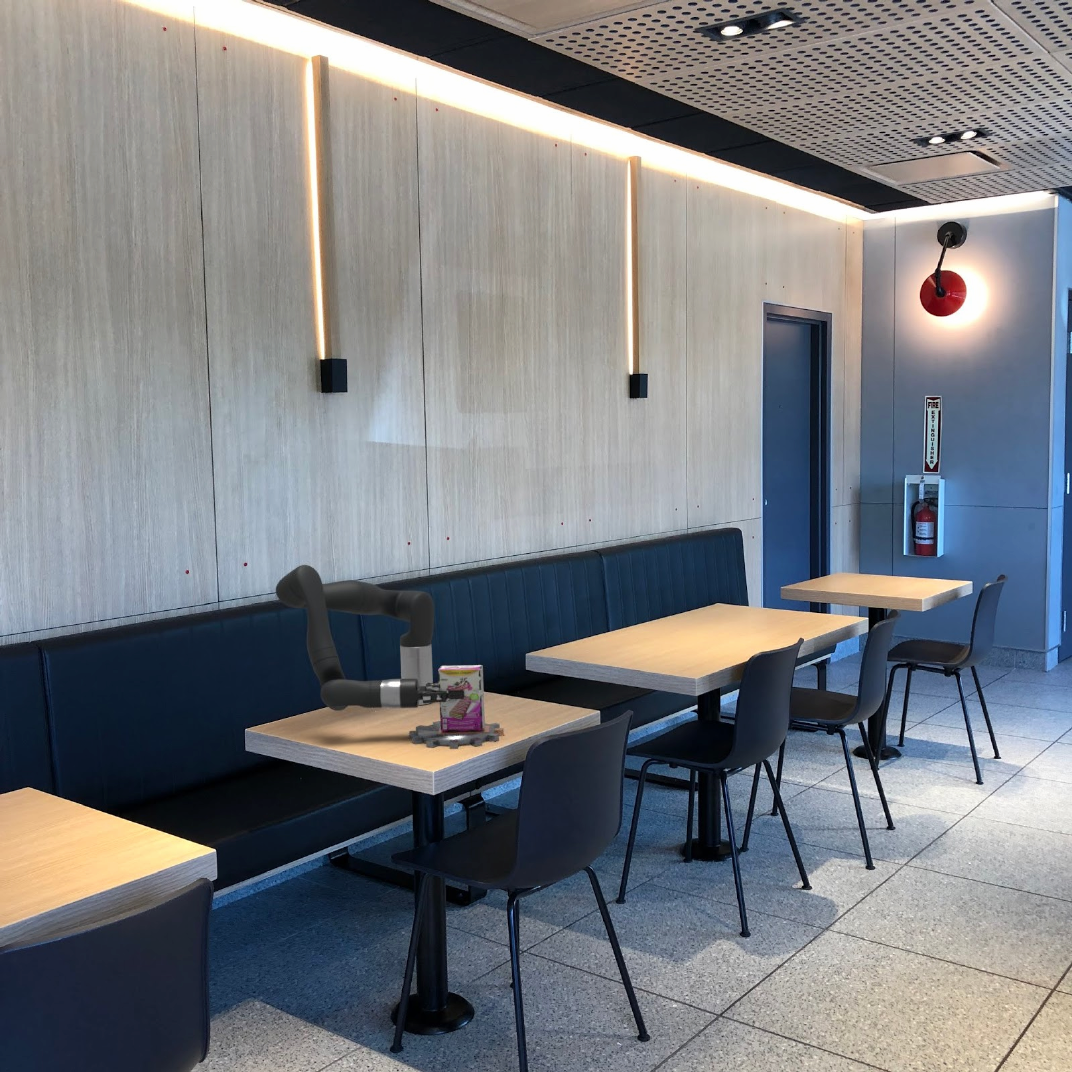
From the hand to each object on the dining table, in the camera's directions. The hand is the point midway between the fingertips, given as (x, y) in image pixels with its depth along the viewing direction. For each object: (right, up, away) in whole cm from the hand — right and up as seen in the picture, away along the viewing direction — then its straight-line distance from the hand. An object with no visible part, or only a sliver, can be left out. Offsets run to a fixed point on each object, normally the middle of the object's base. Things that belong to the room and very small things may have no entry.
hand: (464, 691), depth 288 cm
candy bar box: (0, -10, 0) cm, 10 cm away
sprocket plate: (-2, -12, +1) cm, 12 cm away
